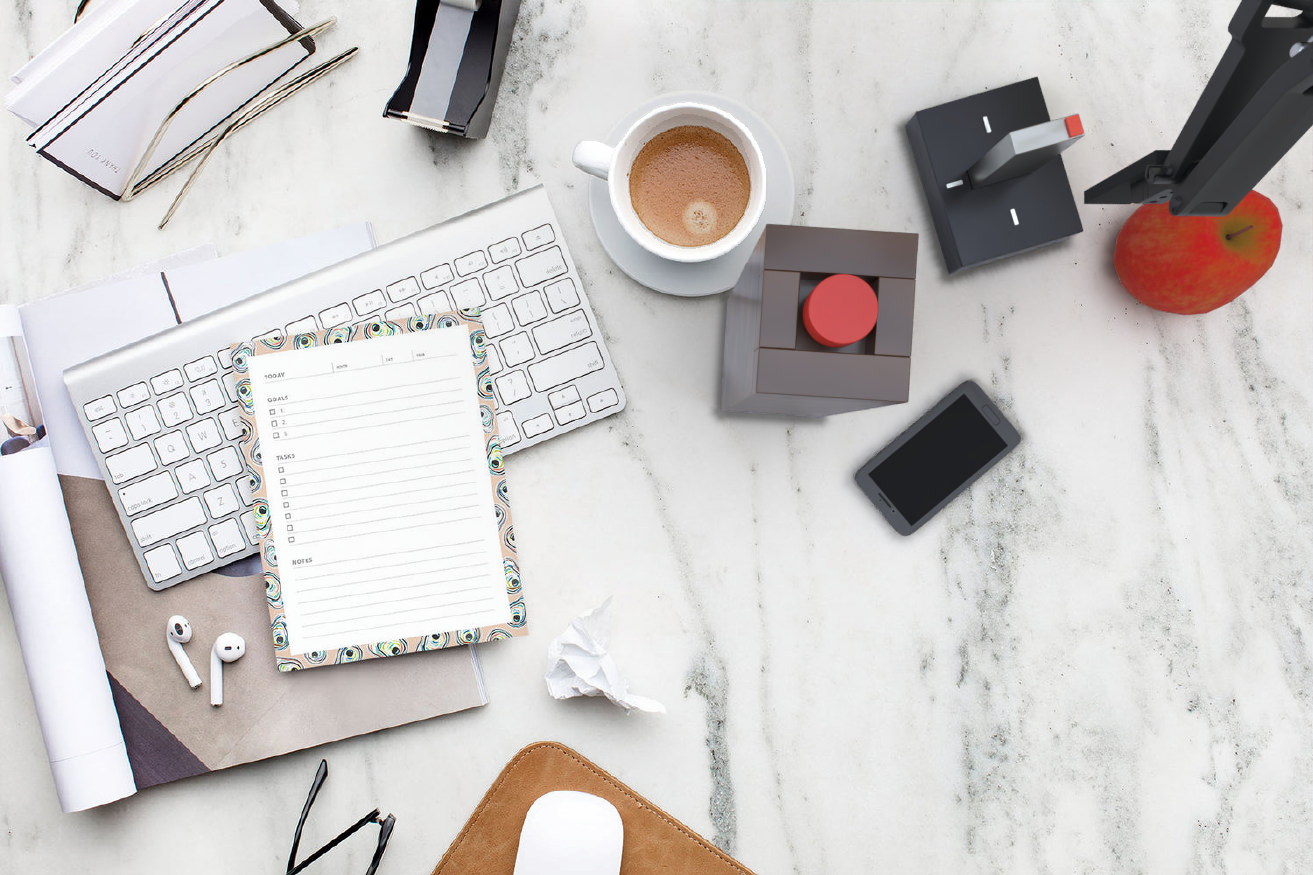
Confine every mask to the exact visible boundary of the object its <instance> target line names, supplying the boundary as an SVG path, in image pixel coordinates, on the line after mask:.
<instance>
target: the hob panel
mask: <svg viewBox="0 0 1313 875" xmlns="http://www.w3.org/2000/svg"><path fill="white" fill-rule="evenodd" d="M1046 103H1047V102H1046V99H1045V96H1044V93H1043V89H1042V86H1041V83H1040V79H1039V77H1038V76H1034V77H1030V78H1027V79H1023V80H1019V81H1016V82H1012V83H1010V84H1009V83H1008V84H1006V85H1003V86H999V87H995V88H993V89H989V90H985V91H982V92H979V93H976V94H971V95H969V96H965V97H961V98H958V99H954V100H951V101H948V102H944V103H941V104H937V105H934V106H930V107H928V108H924V109H921V110H917V111H915V113H914V114H913V115H912V116H911V118H910V119H909V120H908V121H907V123H906V124H905V130H906V134H907V138H908V140H909V144H910V147H911V150H912V154H913V157H914V161H915V164H916V168H917V171H918V175H919V178H920V181H921V184H922V187H923V191H924V194H925V197H926V201H927V204H928V208H929V210H930V214H931V218H932V221H933V224H934V227H935V231H936V235H937V238H938V241H939V244H940V248H941V251H942V254H943V259H944V262H945V265H946V268H947V272H948V274H949V275H952V274H955V273H958V272H959V273H960V272H962V271H966V270H970V269H972V268H976V267H979V266H983V265H986V264H990V263H992V262H993V263H994V262H996V261H999V260H1003V259H1004V260H1005V259H1006V258H1010V257H1014V256H1017V255H1020V254H1024V253H1027V252H1030V251H1034V250H1037V249H1041V248H1044V247H1048V246H1051V245H1055V244H1058V243H1062V242H1066V241H1067V240H1069V239H1072V238H1074V237H1076V236H1077V235H1079V234H1081V233H1083V232H1084V227H1083V224H1082V220H1081V216H1080V213H1079V210H1078V207H1077V204H1076V200H1075V196H1074V193H1073V191H1072V186H1071V184H1070V180H1069V176H1068V173H1067V170H1066V166H1065V164H1064V160H1063V157H1062V152H1061V153H1060V154H1058V155H1057V156H1056V157H1054V158H1053V159H1051V160H1050V161H1049V162H1047V163H1046V164H1044V165H1043V166H1042V167H1040V168H1039V169H1037V170H1036V171H1035V172H1033V173H1029V174H1026V175H1022V176H1019V177H1015V178H1012V179H1008V180H1004V181H1001V182H997V183H994V184H990V185H987V186H983V187H979V188H976V189H973V188H972V184H971V181H970V177H969V174H968V169H969V168H970V167H971V166H972V165H973V164H974V163H976V162H977V161H978V160H979V159H980V158H981V157H982V156H984V155H985V154H986V153H987V152H988V151H989V150H990V149H992V148H993V147H994V146H995V145H996V144H997V143H998V142H1000V141H1001V140H1002V139H1003V138H1004V137H1005V136H1006V135H1008V134H1009V133H1010V132H1013V131H1016V130H1020V129H1024V128H1027V127H1031V126H1034V125H1038V124H1041V123H1045V122H1049V121H1052V119H1051V117H1050V113H1049V110H1048V106H1047V104H1046Z"/></svg>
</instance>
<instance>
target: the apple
mask: <svg viewBox="0 0 1313 875" xmlns="http://www.w3.org/2000/svg"><path fill="white" fill-rule="evenodd" d="M1169 202H1170V200H1169V201H1167V202H1165V203H1163V204H1141V205H1140V206H1139V207H1138V208H1136V209H1135V210H1134V212H1133V213H1132V214H1131V215H1130V217H1129V218H1127V219H1126V221H1125V222H1124V223H1123V225H1122V227H1121V229H1120V231H1119V232H1118V233H1117V236H1116V240H1115V241H1116V242H1115V247H1114V254H1113V261H1112V263H1113V266H1114V269H1115V271H1116V274H1117V276H1118V279H1119V282H1120V285H1122V287H1123V288H1124V289H1125V291H1127V293H1129V294H1130V295H1131V296H1132V297H1133V298H1135V299H1136V300H1137V301H1138V302H1139V303H1141V305H1143V306H1146V307H1148V308H1151V309H1152V310H1153V309H1154V310H1156V311H1159V312H1165V313H1170V314H1174V315H1180V316H1195V315H1205V314H1209V313H1210V312H1213V311H1215V310H1217V309H1220V308H1222V307H1224V306H1226V305H1227V304H1229V303H1232V302H1233V301H1235V299H1237V298H1239V297H1240V296H1241V295H1242V294H1244V293H1245V292H1246V291H1248V290H1249V289H1250V288H1252V287H1254V286H1255V284H1256V283H1257V282H1259V281H1260V280H1261V279H1262V278H1263V277H1264V276H1265V275H1266V274H1267V273H1268V271H1270V269H1271V268H1272V267H1273V265H1274V263H1275V262H1276V259H1277V258H1278V254H1279V252H1280V249H1281V244H1282V234H1283V227H1284V225H1283V221H1282V218H1281V214H1280V210H1279V207H1278V206H1277V205H1276V204H1275V203H1274V202H1273V201H1272V199H1270V197H1269V196H1266V195H1264V194H1262V193H1260V192H1259V191H1257V190H1255V189H1252V190H1251V191H1250V192H1249V193H1248V194H1247V195H1246V196H1245V197H1244V199H1243V200H1242V201H1241V202H1240V203H1239V204H1238V205H1237V206H1236V207H1235V208H1234V209H1233V210H1232V211H1231V212H1230V213H1229V214H1228V215H1227V216H1173V215H1171V214H1170V212H1169Z"/></svg>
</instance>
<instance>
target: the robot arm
mask: <svg viewBox="0 0 1313 875" xmlns="http://www.w3.org/2000/svg"><path fill="white" fill-rule="evenodd" d="M1271 6H1276V7H1281V8H1286V9H1291V10H1296V11H1301V12H1300V13H1299V14H1297V15H1294V16H1267V14H1268V12H1269V10H1270V8H1271ZM1227 32H1228V33H1229V34H1230V35H1231V40H1230V42H1229V43H1228V45H1227V47H1226V49H1225V51H1224V52H1223V55H1222V56H1221V58H1220V60H1219V62H1218V64H1217V65H1216V67H1215V69H1214V71H1213V72H1212V74H1211V76H1210V78H1209V80H1208V82H1207V84H1206V85H1205V87H1204V89H1203V90H1202V92H1201V94H1200V96H1199V97H1198V99H1197V102H1196V103H1195V106H1194V107H1193V108H1192V111H1191V113H1190V114H1189V116H1188V118H1187V119H1186V122H1185V124H1184V125H1183V127H1182V128H1181V130H1180V132H1179V134H1178V136H1177V138H1176V140H1175V141H1174V143H1173V145H1172V147H1171V149H1155V150H1154V151H1153V150H1152V151H1151V152H1149V153H1148V154H1146V155H1145V156H1142V157H1141V158H1139V159H1138V160H1136V161H1134V162H1132V163H1130V164H1129V165H1127V166H1126V167H1124V168H1122V169H1120V170H1118V171H1116V172H1115V173H1113V174H1112V175H1110V176H1108V177H1106V178H1105V179H1103V180H1101V181H1099V182H1098V183H1096V184H1094V185H1093V186H1091V187H1089V188H1087V189H1085V190H1084V191H1083V205H1131V204H1136V205H1143V204H1163V203H1165V202H1167V201H1169V200H1170V202H1169V212H1170V214H1171V215H1173V216H1227V215H1228V214H1229V213H1230V212H1231V211H1232V210H1233V209H1234V208H1235V207H1236V206H1237V205H1238V204H1239V203H1240V202H1241V201H1242V200H1243V199H1244V197H1245V196H1246V195H1247V194H1248V193H1249V192H1250V191H1251V190H1254V188H1255V187H1256V186H1257V185H1258V184H1259V183H1260V182H1261V181H1262V180H1263V179H1264V178H1265V176H1266V175H1267V174H1268V173H1269V172H1271V170H1272V169H1273V168H1274V167H1275V166H1276V165H1277V164H1278V163H1279V162H1280V161H1281V160H1282V159H1283V157H1285V155H1286V154H1288V152H1289V151H1290V150H1291V149H1292V148H1293V147H1294V145H1296V144H1297V143H1298V141H1299V140H1301V139H1302V138H1303V136H1304V135H1305V134H1306V133H1307V132H1308V131H1309V130H1310V129H1311V128H1312V127H1313V0H1241V1H1240V3H1239V4H1238V6H1237V7H1236V9H1235V12H1234V13H1233V15H1232V17H1231V19H1230V21H1229V22H1228V26H1227Z"/></svg>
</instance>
